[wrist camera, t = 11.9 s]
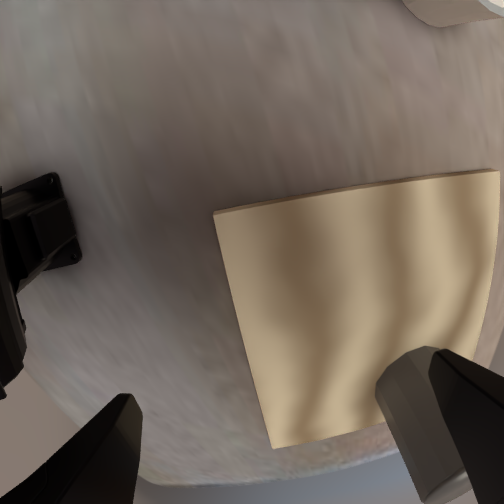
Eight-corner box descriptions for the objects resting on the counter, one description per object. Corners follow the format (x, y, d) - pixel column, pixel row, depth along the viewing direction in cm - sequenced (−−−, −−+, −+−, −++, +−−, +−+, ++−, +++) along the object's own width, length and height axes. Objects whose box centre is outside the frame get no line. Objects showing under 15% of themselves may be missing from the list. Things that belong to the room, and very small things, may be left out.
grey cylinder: (372, 413, 26) (415, 517, 15) (377, 361, 23) (441, 483, 12) (436, 390, 26) (489, 478, 14) (449, 336, 23) (525, 432, 12)
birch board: (271, 441, 28) (272, 448, 27) (213, 211, 19) (212, 215, 18) (458, 385, 28) (462, 390, 27) (491, 169, 19) (499, 171, 18)
